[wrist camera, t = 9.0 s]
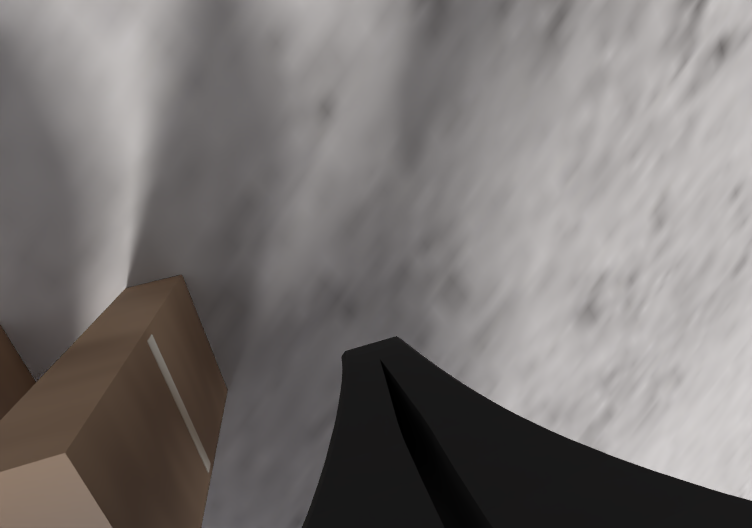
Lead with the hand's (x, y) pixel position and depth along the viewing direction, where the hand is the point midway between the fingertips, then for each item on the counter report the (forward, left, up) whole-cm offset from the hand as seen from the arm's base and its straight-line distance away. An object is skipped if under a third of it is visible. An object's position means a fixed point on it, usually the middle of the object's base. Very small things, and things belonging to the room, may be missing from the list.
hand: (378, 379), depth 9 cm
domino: (0, +6, -5) cm, 7 cm away
